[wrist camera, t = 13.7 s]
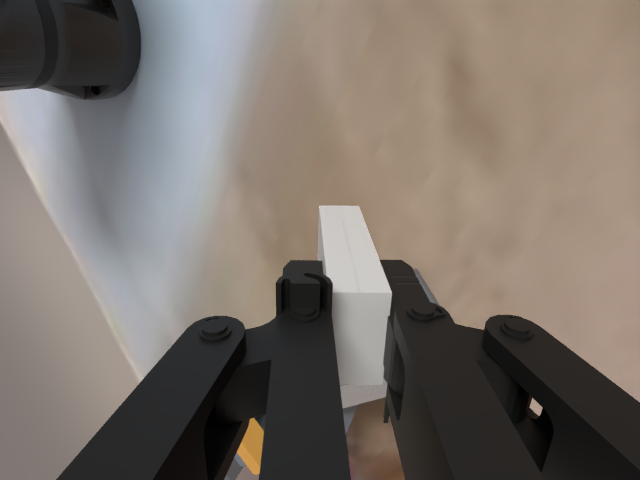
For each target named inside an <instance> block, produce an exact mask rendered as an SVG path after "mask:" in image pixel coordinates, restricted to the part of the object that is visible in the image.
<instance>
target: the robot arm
mask: <svg viewBox="0 0 640 480" xmlns="http://www.w3.org/2000/svg"><path fill="white" fill-rule="evenodd" d="M139 55H140V32H139V25H138V20H137V16H136V12H135V9H134V6H133V3H132V1H131V0H0V91H9V90H20V89H30V88H39V89H42V90H46V91H50V92H54V93H58V94H62V95H66V96H70V97H74V98H77V99H83V100H96V99H104V98H110V97H113V96H116V95H118V94H119V93H121V92H122V91H123V90H124V89H125V88H126V87H127V86H128V85H129V83H130V82H131V80H132V79H133V77H134V74H135V72H136V69H137V66H138V61H139ZM384 369H385V373H386V377H387V380H388V381H387V391H386V400H385V409H384V423H388V418H389V415H390V417H391V422H392V426H393V430H394V434H395V438H396V442H397V446H398V451H399V455H400V459H401V463H402V467H403V471H404V476H405V480H640V402H638V401H637V400H636V399H634V398H633V397H632V396H630V395H629V394H628V393H626V392H625V391H624V390H622V389H621V388H620V387H619V386H617V385H616V384H615V383H613V382H612V381H611V380H609V379H608V378H607V377H605V376H604V375H603V374H602V373H600V372H599V371H598V370H596V369H595V368H594V367H592V366H591V365H590V364H588V363H587V362H586V361H584V360H583V359H582V358H581V357H579V356H578V355H577V354H575V353H574V352H573V351H571V350H570V349H569V348H567V347H566V346H565V345H564V344H562V343H561V342H560V341H558V340H557V339H556V338H554V337H553V336H552V335H550V334H549V333H548V332H546V331H545V330H544V329H543V328H541V327H540V326H538V325H536V324H535V323H533V322H531V321H529V320H526V319H524V318H522V317H519V316H513V315H497V316H493V317H490V318H489V319H488V320H487V321H486V324H485V329H484V330H481V329H476V328H471V327H465V326H461V325H457V324H455V323H454V321H453V319H452V318H451V316H450V314H449V313H448V312H447V311H446V310H445V309H444V308H443V307H441V306H439V305H437V304H435V303H432V302H430V301H429V299H428V297H427V295H426V293H425V291H424V289H423V287H422V285H421V284H420V282H419V280H418V278H417V277H416V274H415V272H414V270H413V268H412V267H411V266H409V265H408V264H406V263H405V262H404V261H402V260H379V257H378V255H377V252H376V250H375V247H374V244H373V242H372V239H371V237H370V234H369V231H368V229H367V226H366V224H365V221H364V218H363V216H362V213H361V211H360V208H359V206H319V232H318V261H306V260H291V261H290V262H289V263H288V264H287V265H286V266H285V267H284V268H283V276H281V277H280V278H279V279H278V280H277V282H276V317H275V318H274V319H273V320H272V321H270V322H269V323H267V324H265V325H262V326H259V327H255V328H251V329H246V330H245V327H244V325H243V323H242V322H240V321H239V320H238V319H236V318H232V317H228V316H213V317H207V318H204V319H201V320H199V321H197V322H195V323H193V324H192V325H191V326H190V327H188V328H187V329H186V330H185V332H184V333H183V334H182V335H181V336H180V337H179V339H178V340H177V341H176V342H175V343H174V344H173V345H172V347H171V348H170V349H169V350H168V351H167V352H166V354H165V355H164V356H163V357H162V358H161V359H160V360H159V362H158V363H157V364H156V365H155V366H154V367H153V369H152V370H151V371H150V372H149V373H148V374H147V375H146V377H145V378H144V379H143V380H142V381H141V382H140V384H139V385H138V386H137V387H136V388H135V389H134V391H133V392H132V393H131V394H130V395H129V396H128V398H127V399H126V400H125V401H124V402H123V403H122V405H121V406H120V407H119V408H118V409H117V410H116V411H115V412H114V414H113V415H112V416H111V417H110V418H109V419H108V421H107V422H106V423H105V424H104V425H103V426H102V427H101V429H100V430H99V431H98V432H97V433H96V435H95V436H94V437H93V438H92V439H91V440H90V441H89V442H88V444H87V445H86V446H85V447H84V448H83V449H82V451H81V452H80V453H79V454H78V455H77V456H76V457H75V459H74V460H73V461H72V462H71V463H70V464H69V466H68V467H67V468H66V469H65V470H64V471H63V473H62V474H61V475H60V476H59V477H58V478H57V479H56V480H224V479H225V477H226V475H227V472H228V470H229V468H230V466H231V464H232V462H233V459H234V457H235V455H236V453H237V451H238V448H239V446H240V444H241V442H242V440H243V438H244V435H245V433H246V431H247V429H248V426H249V421H250V419H251V418H255V417H258V416H262V415H266V417H265V427H264V436H263V446H262V455H261V465H260V475H259V480H351V477H350V468H349V459H348V451H347V442H346V433H345V425H344V416H343V407H342V399H341V390H340V385H383V376H384ZM532 397H533V398H534V399H535V400H536V401H537V402H538V403H539V404H540V405H541V406H542V407H543V409H542V412H541V415H540V416H538V415H537V414H536V413H534V412H533V411H532V410H531V409H530V408H529V407H530V403H531V400H532Z"/></svg>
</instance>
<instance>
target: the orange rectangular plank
mask: <svg viewBox="0 0 640 480" xmlns="http://www.w3.org/2000/svg"><path fill="white" fill-rule="evenodd" d="M263 436H264V431H263V429H262V428H261V427H260V425H259V424H258V422H257V421H256V420H255V418H251V419H250V421H249V426H248V429H247V431H246V433H245V435H244V438H243V440H242V442H241V444H240V446H239V448H238V451H237V453H238V455H239V456H240V457H241V459H242V460H243V461H244V463H245V464H246V465H247V466H248V468H249V469H250V471H251V472H252V473H253V474H254V475H256V474H260V465H261V455H262V446H263Z"/></svg>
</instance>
